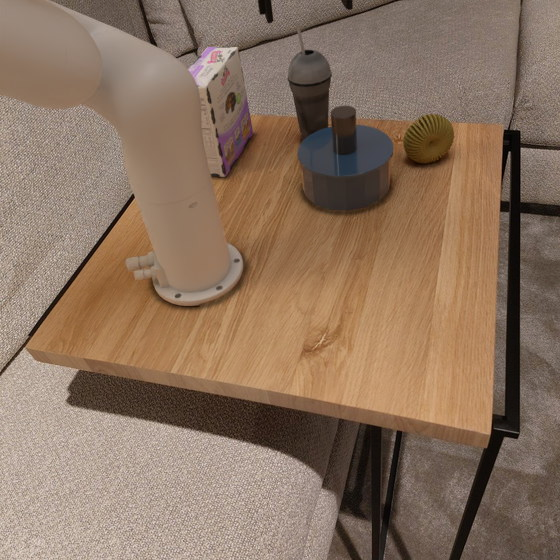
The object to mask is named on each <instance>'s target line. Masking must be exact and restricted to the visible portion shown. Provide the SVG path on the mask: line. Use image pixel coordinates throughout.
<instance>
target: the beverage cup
mask: <svg viewBox="0 0 560 560" xmlns="http://www.w3.org/2000/svg"><path fill="white" fill-rule="evenodd" d="M295 26H296V32H297V36H298V37H297V38H298V41H299V46H300V50H301V51H299V52H298V53H296V54H295V55H294V57H292V59H291V60H290V62H289V66H288V69H287V71H288V72H287V82H288V85H289V88H290V91H291V93H292V97H293V102H294V109H295V112H296V117H297V123H298V127H299V132H300V136H301V142H302V141H303V140H304V139H305V138H307V137H308V136H309V135H311V134H313V133H314V132H316V131H318V130H321V129H324V128H327V127H329V116H330V115H329V112H330V108H329V107H330V88H331V81H332V76H333V73H332V70H331V66H330V63H329V60H328V59H327V58H326V57H325V55H324V54H323V53H322V52H320V51H318V50H316V49H305V46H304V41H303V37H302V30H301V26H300V23H299V22H296V23H295Z"/></svg>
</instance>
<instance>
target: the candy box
mask: <svg viewBox="0 0 560 560" xmlns="http://www.w3.org/2000/svg"><path fill="white" fill-rule="evenodd" d="M187 69H188V70H189V72H190V73H191V74H192V76H193V78H194V80H195V82H196V84H197V87H198V90H199V94H200V100H201V123H202V135H203V142H204V147H205V153H206V157H207V162H208V166H209V170H210V174H211V177H218V178H226V177H227V176H228V175H229V173H230V171H231V170H232V168H233V167H234V165H235V164H236V162H237V160H238V159H239V158H240V156H241V154H242V153H243V151H244V149H245V148H246V146H247V145H248V142H249V141H250V140H251V138H252V136H253V135H254V131H253V124H252V120H251V118H252V117H251V113H250V108H249V102H248V96H247V95H248V94H247V89H246V85H245V79H244V73H243V67H242V62H241V55H240V50H239V46H207V47H206V48H205V49H204V50H203V52H202V53H200V55H199V56H198V57H197V59H196V60H195V61H194V62H193V63H192V64H191V65H190V66H189V68H187Z"/></svg>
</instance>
